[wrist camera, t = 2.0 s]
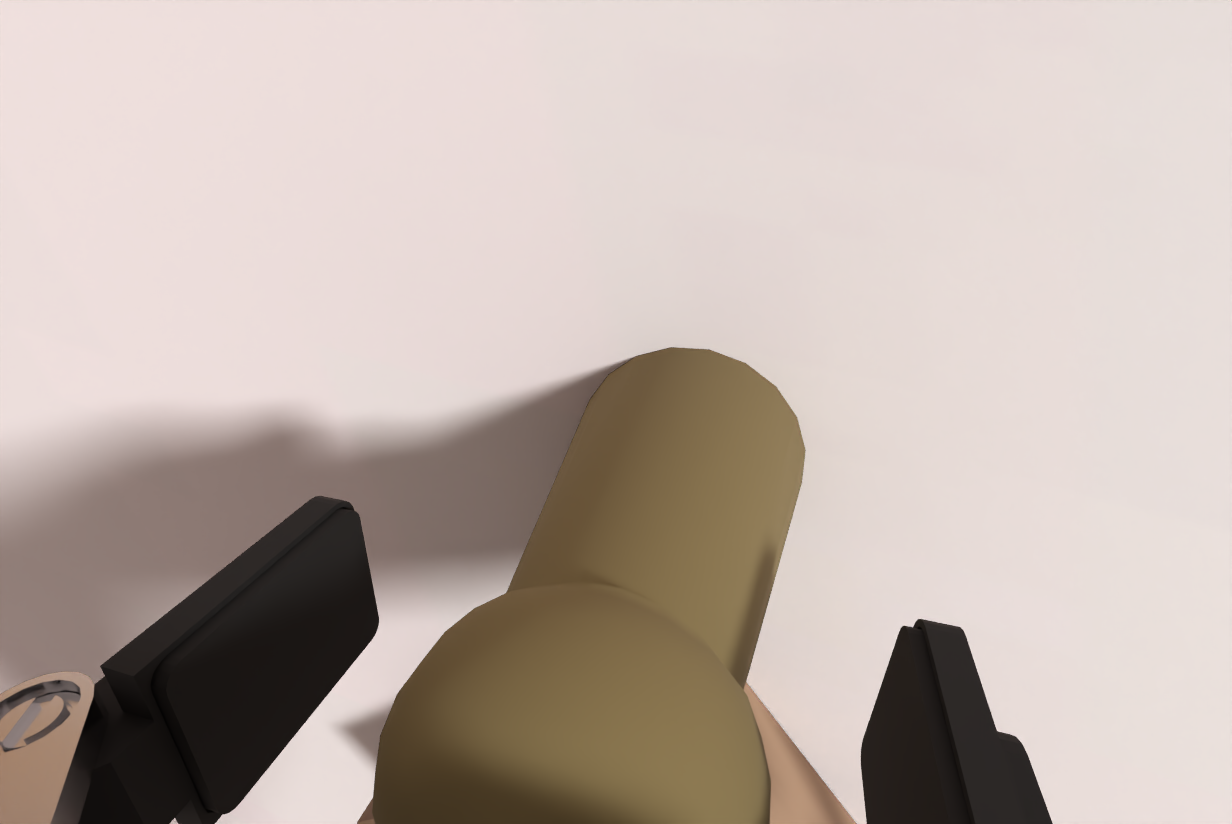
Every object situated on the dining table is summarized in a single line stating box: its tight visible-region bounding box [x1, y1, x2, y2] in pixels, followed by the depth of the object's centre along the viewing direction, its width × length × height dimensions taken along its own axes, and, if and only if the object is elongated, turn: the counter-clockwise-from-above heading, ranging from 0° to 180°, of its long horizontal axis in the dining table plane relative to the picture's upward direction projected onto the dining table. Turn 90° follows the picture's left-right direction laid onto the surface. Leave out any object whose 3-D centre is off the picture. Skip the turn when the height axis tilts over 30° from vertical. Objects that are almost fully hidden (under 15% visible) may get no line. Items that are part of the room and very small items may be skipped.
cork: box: [372, 347, 805, 824], centre depth 11 cm, size 6×6×11 cm
